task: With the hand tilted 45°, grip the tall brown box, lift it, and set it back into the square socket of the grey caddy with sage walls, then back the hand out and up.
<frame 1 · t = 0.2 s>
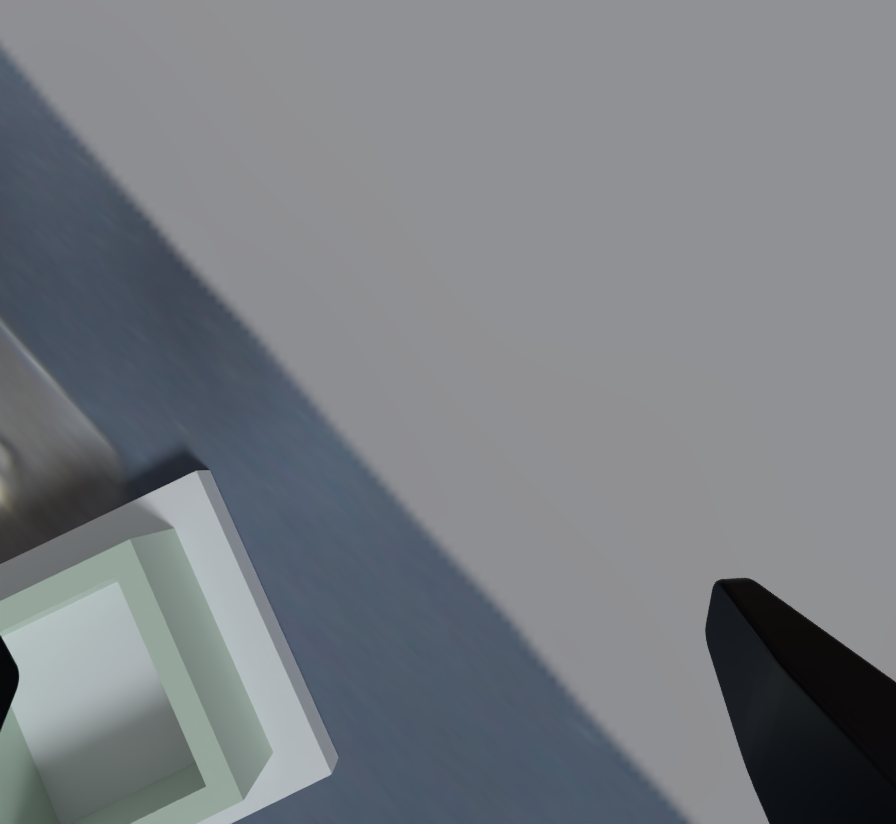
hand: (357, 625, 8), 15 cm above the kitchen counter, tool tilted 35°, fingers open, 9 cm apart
caddy: (130, 679, 23), on the kitchen counter
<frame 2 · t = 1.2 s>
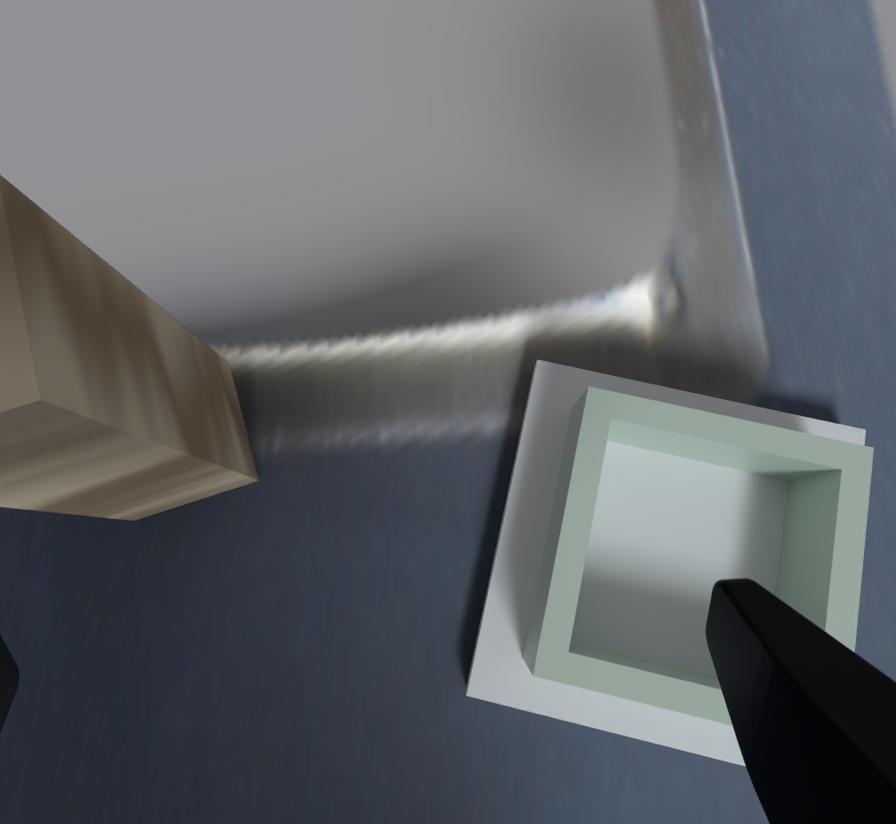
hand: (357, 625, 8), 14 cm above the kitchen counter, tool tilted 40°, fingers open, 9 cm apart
brown box: (182, 439, 23), on the kitchen counter
caddy: (661, 557, 22), on the kitchen counter
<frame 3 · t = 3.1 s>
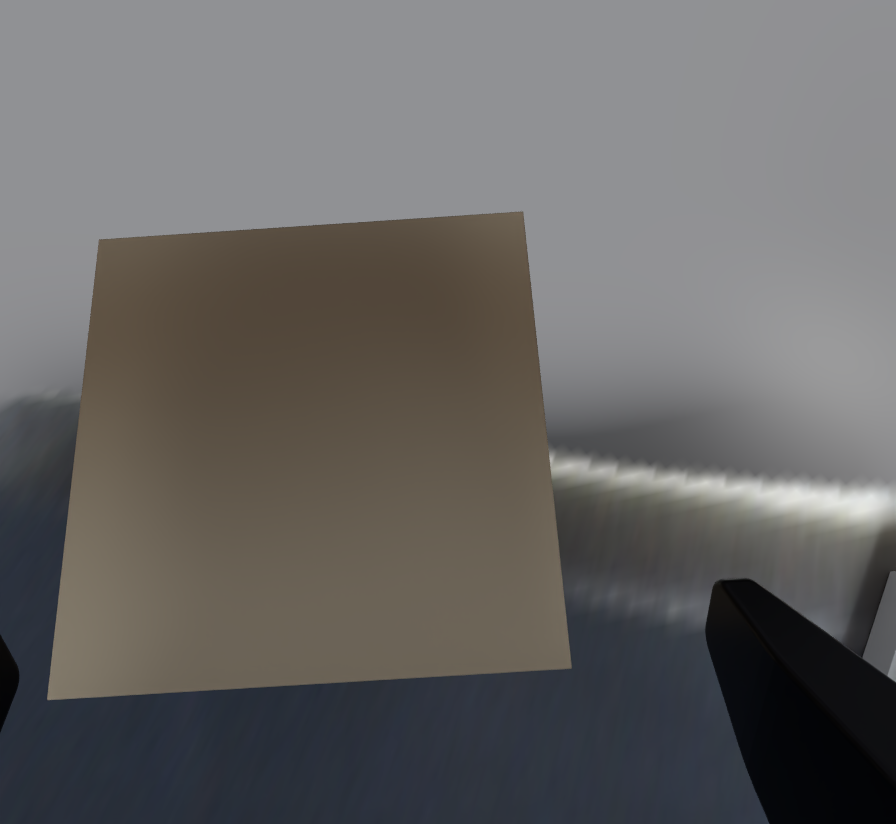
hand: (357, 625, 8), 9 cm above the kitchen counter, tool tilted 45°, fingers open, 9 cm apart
brown box: (411, 545, 18), on the kitchen counter
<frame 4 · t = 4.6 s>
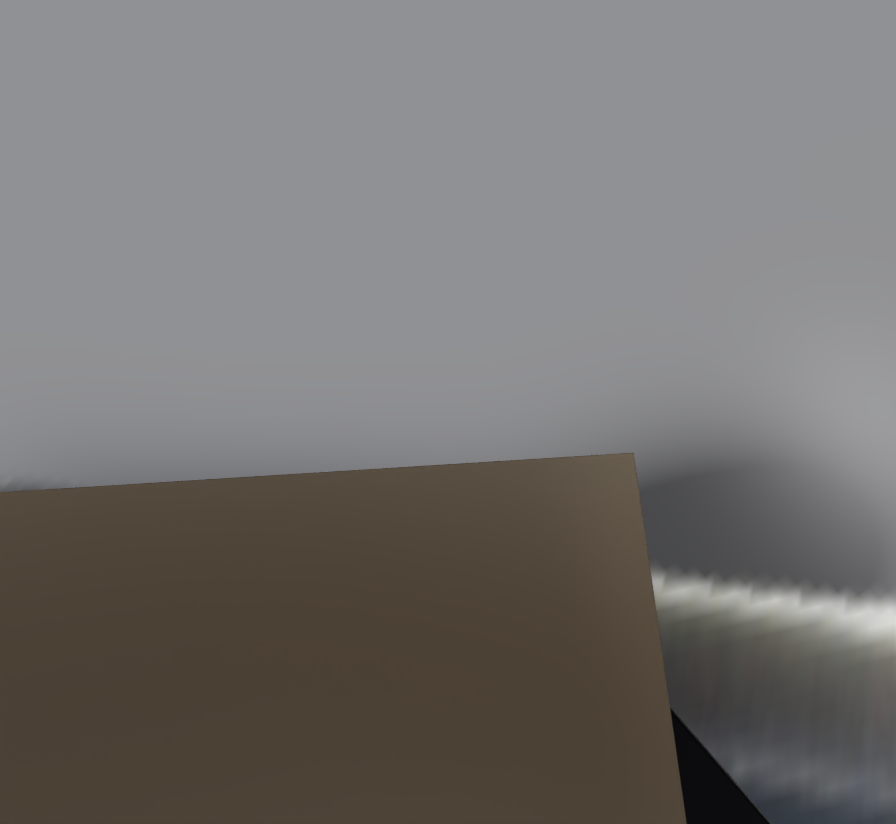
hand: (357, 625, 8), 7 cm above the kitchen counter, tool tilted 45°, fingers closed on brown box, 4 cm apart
brown box: (406, 681, 14), on the kitchen counter, touching gripper
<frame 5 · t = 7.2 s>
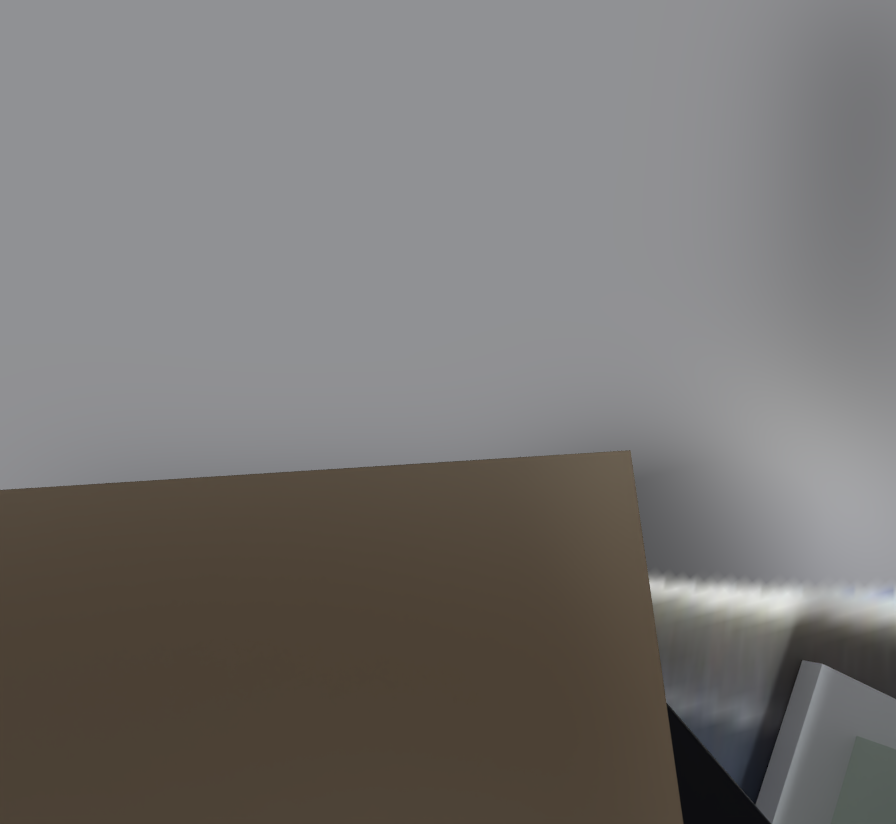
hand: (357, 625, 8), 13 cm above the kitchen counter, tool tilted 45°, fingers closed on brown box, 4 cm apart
brown box: (406, 680, 14), point 7 cm above the kitchen counter, touching gripper
when the fingers open (9 cm above the kitchen counter, at t = 10.0 s): brown box drops 1 cm, resting on caddy.
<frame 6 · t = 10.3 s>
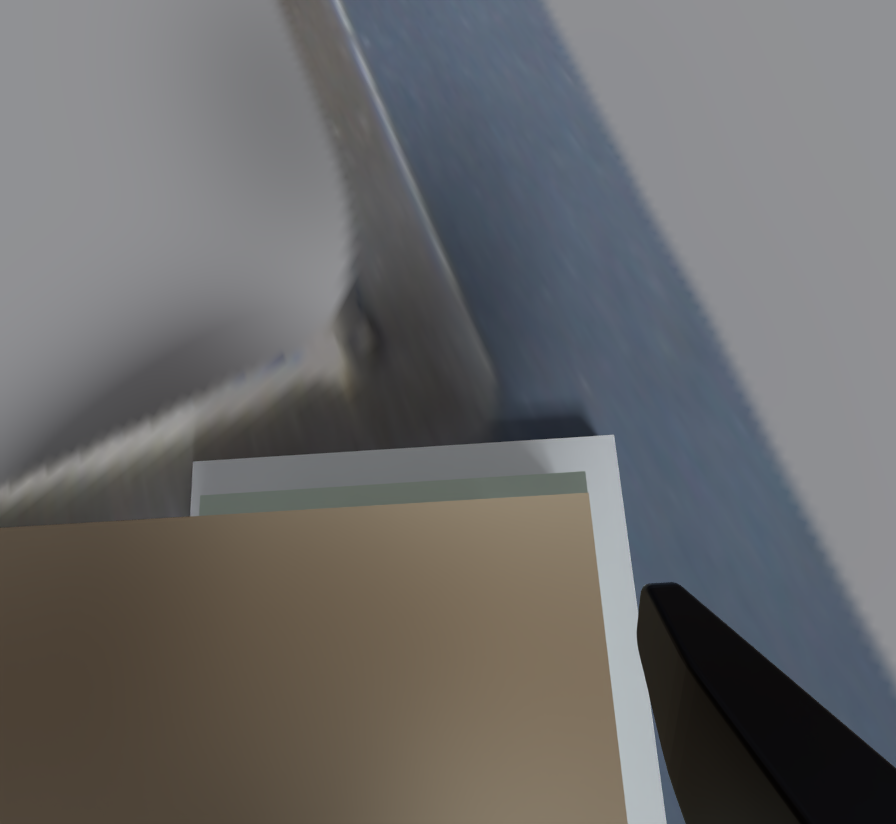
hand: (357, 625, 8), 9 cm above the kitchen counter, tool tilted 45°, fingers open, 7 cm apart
brown box: (412, 673, 15), point 1 cm above the kitchen counter, touching caddy
caddy: (415, 669, 16), on the kitchen counter
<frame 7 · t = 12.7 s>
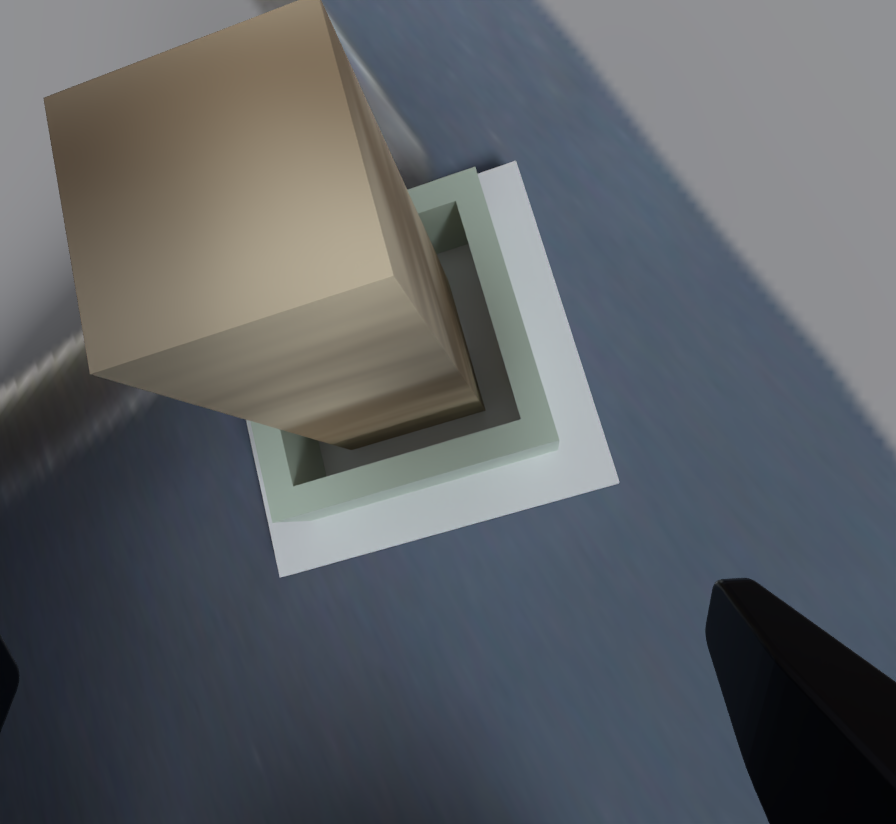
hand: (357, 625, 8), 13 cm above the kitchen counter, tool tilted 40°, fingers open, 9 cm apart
brown box: (400, 364, 21), point 1 cm above the kitchen counter, touching caddy
caddy: (408, 372, 22), on the kitchen counter
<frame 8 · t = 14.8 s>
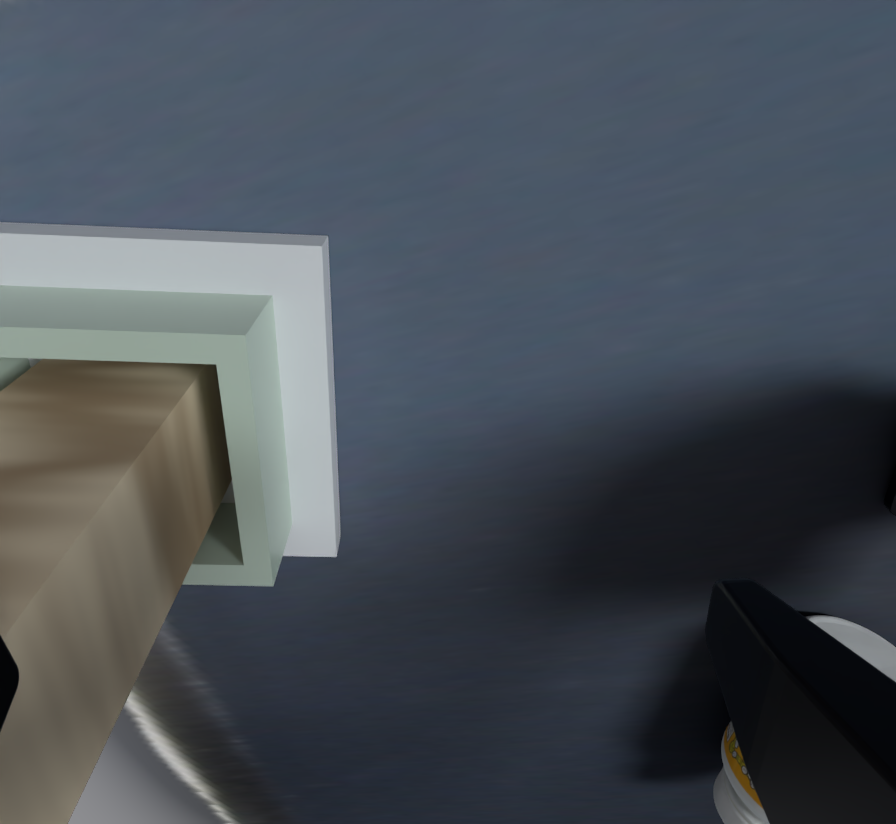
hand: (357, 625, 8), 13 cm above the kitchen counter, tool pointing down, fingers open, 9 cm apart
brown box: (150, 416, 20), point 1 cm above the kitchen counter, touching caddy
supplement bottle: (868, 662, 24), point 3 cm above the kitchen counter
caddy: (165, 398, 21), on the kitchen counter
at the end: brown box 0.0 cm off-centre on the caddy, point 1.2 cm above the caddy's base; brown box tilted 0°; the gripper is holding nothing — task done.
